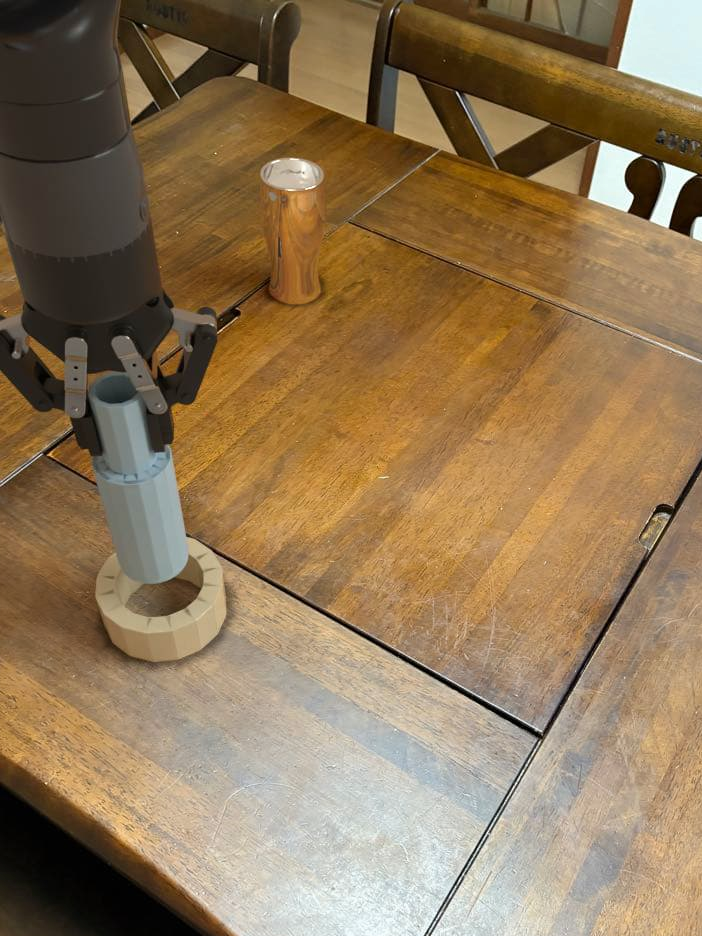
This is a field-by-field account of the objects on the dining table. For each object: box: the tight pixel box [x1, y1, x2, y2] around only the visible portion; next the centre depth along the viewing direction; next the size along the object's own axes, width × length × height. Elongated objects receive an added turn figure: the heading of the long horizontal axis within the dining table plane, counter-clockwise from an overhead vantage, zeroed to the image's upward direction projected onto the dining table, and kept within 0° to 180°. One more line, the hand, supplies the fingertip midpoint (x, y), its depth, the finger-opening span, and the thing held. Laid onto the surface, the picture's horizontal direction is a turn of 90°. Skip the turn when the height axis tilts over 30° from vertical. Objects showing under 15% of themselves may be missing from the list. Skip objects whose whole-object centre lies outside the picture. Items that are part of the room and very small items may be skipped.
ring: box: [94, 536, 227, 663], centre depth 75 cm, size 10×10×5 cm
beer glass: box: [259, 157, 327, 305], centre depth 100 cm, size 7×7×15 cm
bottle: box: [88, 371, 188, 585], centre depth 64 cm, size 5×5×17 cm
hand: (128, 444), depth 61 cm, fingers closed on bottle, 3 cm apart
